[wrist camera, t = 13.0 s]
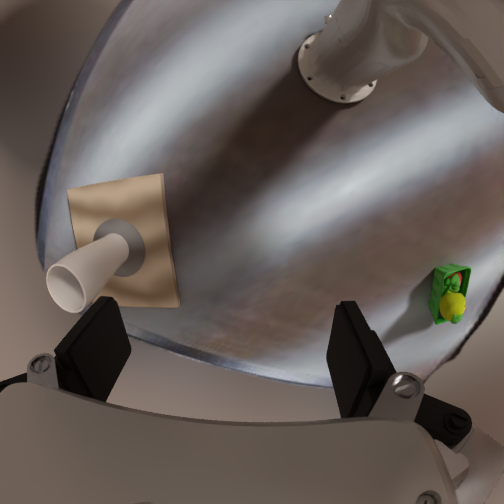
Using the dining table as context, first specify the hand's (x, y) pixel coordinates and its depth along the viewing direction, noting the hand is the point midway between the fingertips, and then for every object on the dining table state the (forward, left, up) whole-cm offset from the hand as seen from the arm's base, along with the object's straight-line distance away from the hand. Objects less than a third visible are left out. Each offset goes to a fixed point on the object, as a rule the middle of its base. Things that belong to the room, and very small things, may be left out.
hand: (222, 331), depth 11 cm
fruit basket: (+17, +38, -31) cm, 52 cm away
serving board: (+6, -21, -31) cm, 38 cm away
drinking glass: (+5, -21, -29) cm, 36 cm away
